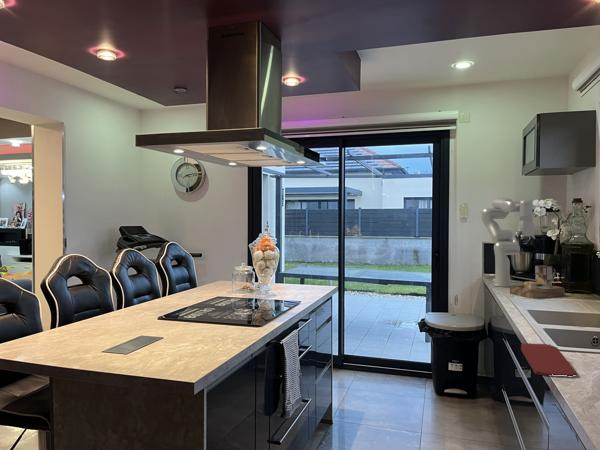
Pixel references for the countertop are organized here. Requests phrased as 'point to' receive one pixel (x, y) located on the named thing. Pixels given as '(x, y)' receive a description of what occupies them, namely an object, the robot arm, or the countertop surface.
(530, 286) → the maple block
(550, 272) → the coffee box
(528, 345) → the dark red flat piece
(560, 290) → the wooden cutting board
